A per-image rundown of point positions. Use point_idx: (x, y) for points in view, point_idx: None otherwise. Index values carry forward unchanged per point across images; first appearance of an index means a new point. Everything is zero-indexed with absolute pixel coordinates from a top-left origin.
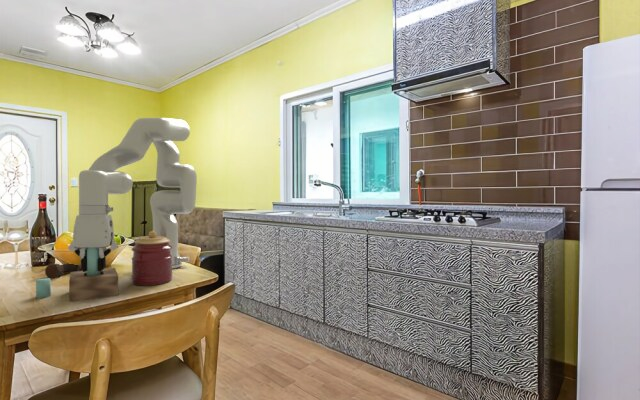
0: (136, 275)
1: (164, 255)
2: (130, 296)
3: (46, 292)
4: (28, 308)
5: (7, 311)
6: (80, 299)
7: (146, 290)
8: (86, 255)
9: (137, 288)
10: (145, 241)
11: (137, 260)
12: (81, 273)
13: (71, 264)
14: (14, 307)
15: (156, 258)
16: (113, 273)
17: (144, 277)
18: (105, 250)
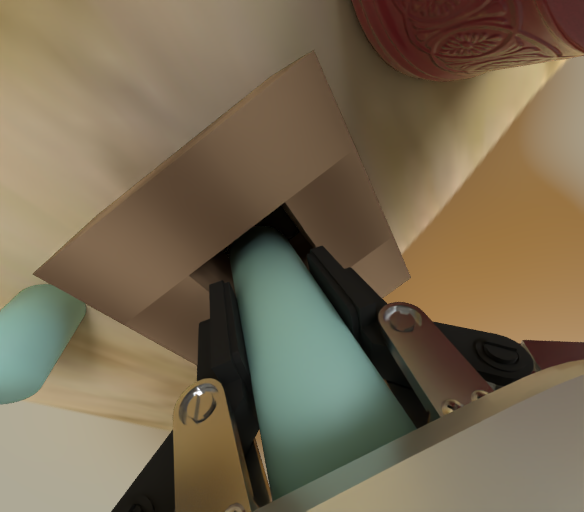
0: (428, 53)
1: None
2: (400, 241)
3: (76, 328)
4: (164, 391)
5: (128, 419)
6: None
7: (438, 162)
8: (246, 419)
9: (401, 132)
10: None
11: (565, 33)
12: (183, 290)
13: None
14: (105, 401)
15: None
16: (378, 249)
17: (464, 75)
18: (452, 371)
